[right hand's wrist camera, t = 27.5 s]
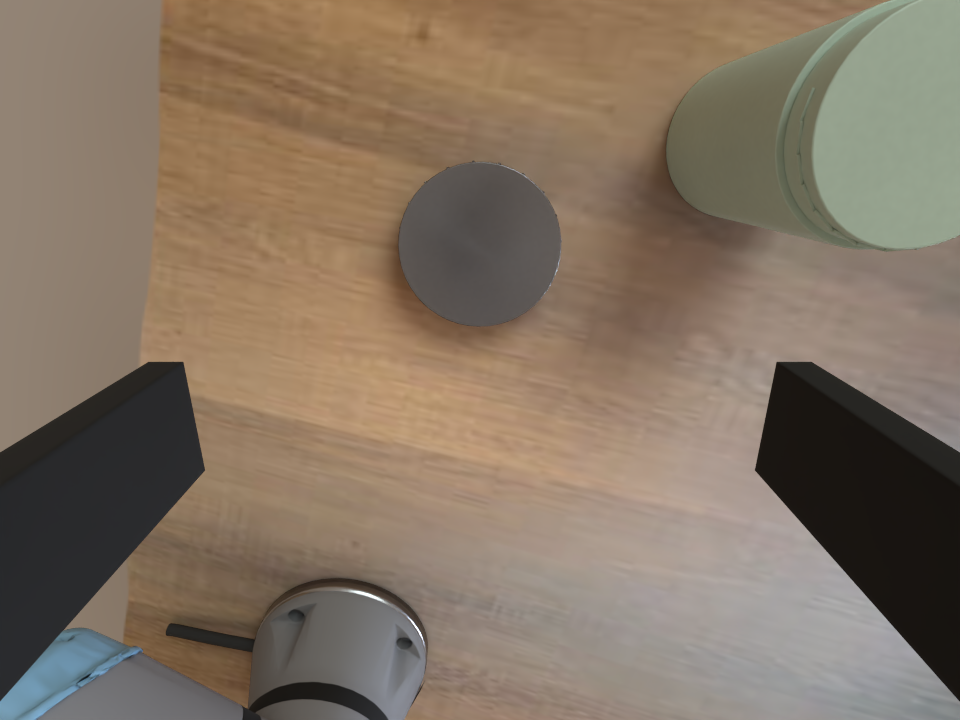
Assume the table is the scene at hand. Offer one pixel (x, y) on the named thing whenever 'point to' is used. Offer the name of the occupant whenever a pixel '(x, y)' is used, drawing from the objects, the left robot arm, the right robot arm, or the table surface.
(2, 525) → the right robot arm
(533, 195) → the lid
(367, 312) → the table surface
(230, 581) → the table surface
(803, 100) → the jar
